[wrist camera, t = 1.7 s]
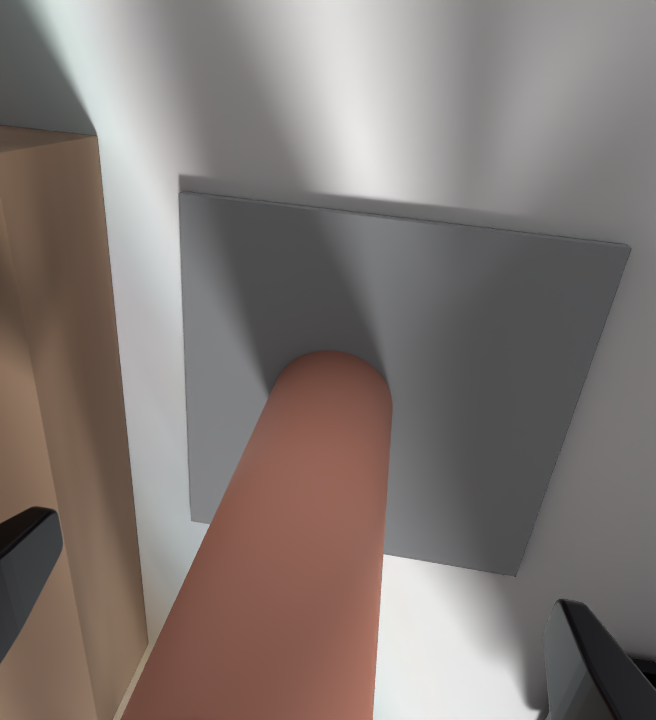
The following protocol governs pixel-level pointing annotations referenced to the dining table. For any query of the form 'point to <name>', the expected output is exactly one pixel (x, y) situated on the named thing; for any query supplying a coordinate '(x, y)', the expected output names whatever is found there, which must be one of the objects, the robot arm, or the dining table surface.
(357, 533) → the peg
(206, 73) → the dining table surface
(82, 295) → the socket block
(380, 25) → the dining table surface
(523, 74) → the dining table surface
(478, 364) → the mat
